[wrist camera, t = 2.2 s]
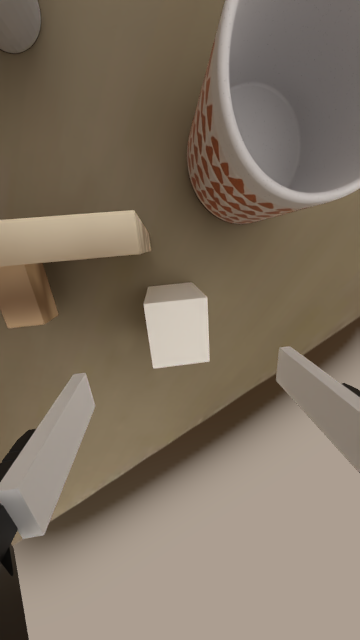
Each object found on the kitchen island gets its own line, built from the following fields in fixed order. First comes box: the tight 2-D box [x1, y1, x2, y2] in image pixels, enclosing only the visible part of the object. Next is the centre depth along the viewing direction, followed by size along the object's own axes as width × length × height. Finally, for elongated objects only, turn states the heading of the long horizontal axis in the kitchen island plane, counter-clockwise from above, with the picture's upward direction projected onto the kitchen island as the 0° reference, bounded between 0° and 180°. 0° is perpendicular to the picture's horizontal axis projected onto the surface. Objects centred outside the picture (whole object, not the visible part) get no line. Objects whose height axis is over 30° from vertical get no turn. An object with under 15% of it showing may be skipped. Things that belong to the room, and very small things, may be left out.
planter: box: [187, 0, 360, 224], centre depth 17 cm, size 14×14×13 cm
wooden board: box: [0, 210, 151, 328], centre depth 17 cm, size 8×26×16 cm, turn 95°
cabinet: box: [144, 282, 210, 369], centre depth 24 cm, size 8×6×9 cm
